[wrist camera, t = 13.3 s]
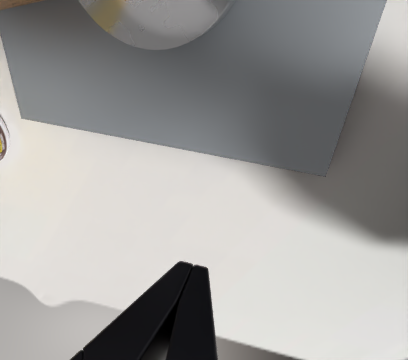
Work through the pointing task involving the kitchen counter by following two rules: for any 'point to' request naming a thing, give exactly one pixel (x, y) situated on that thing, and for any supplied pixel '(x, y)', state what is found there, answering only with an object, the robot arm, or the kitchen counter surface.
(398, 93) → the kitchen counter surface
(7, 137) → the supplement bottle
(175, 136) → the board
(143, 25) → the dial
